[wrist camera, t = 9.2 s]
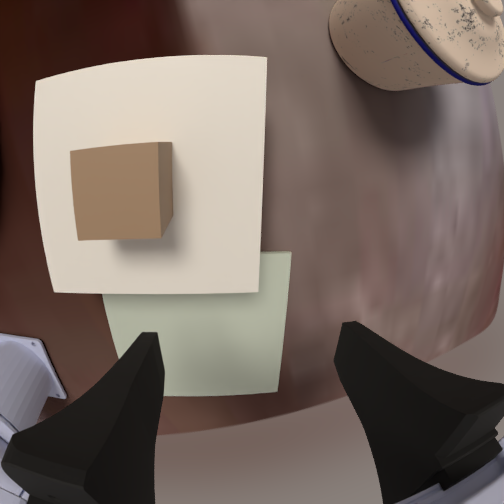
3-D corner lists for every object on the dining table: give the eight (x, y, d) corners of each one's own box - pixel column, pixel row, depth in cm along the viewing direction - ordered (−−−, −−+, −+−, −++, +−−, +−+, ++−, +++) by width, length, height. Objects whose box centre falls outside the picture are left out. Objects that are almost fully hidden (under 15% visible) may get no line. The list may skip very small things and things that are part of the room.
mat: (131, 391, 24) (130, 394, 24) (96, 255, 19) (95, 257, 19) (276, 388, 26) (277, 391, 26) (290, 251, 21) (291, 253, 21)
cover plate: (59, 285, 15) (27, 324, 11) (43, 83, 11) (-3, 72, 7) (256, 285, 17) (269, 330, 13) (264, 61, 12) (283, 33, 8)
